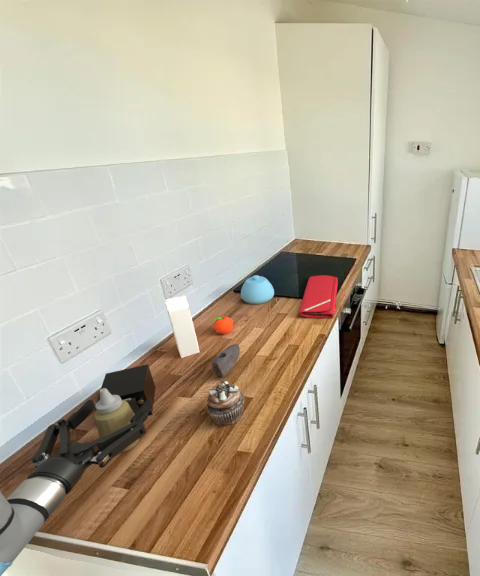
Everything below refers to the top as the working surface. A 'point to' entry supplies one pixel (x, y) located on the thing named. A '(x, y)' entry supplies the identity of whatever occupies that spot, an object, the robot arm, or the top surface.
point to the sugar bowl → (257, 290)
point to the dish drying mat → (319, 297)
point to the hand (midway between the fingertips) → (121, 403)
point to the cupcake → (225, 404)
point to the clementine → (223, 324)
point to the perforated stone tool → (225, 360)
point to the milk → (182, 326)
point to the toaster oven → (131, 386)
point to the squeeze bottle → (112, 415)
